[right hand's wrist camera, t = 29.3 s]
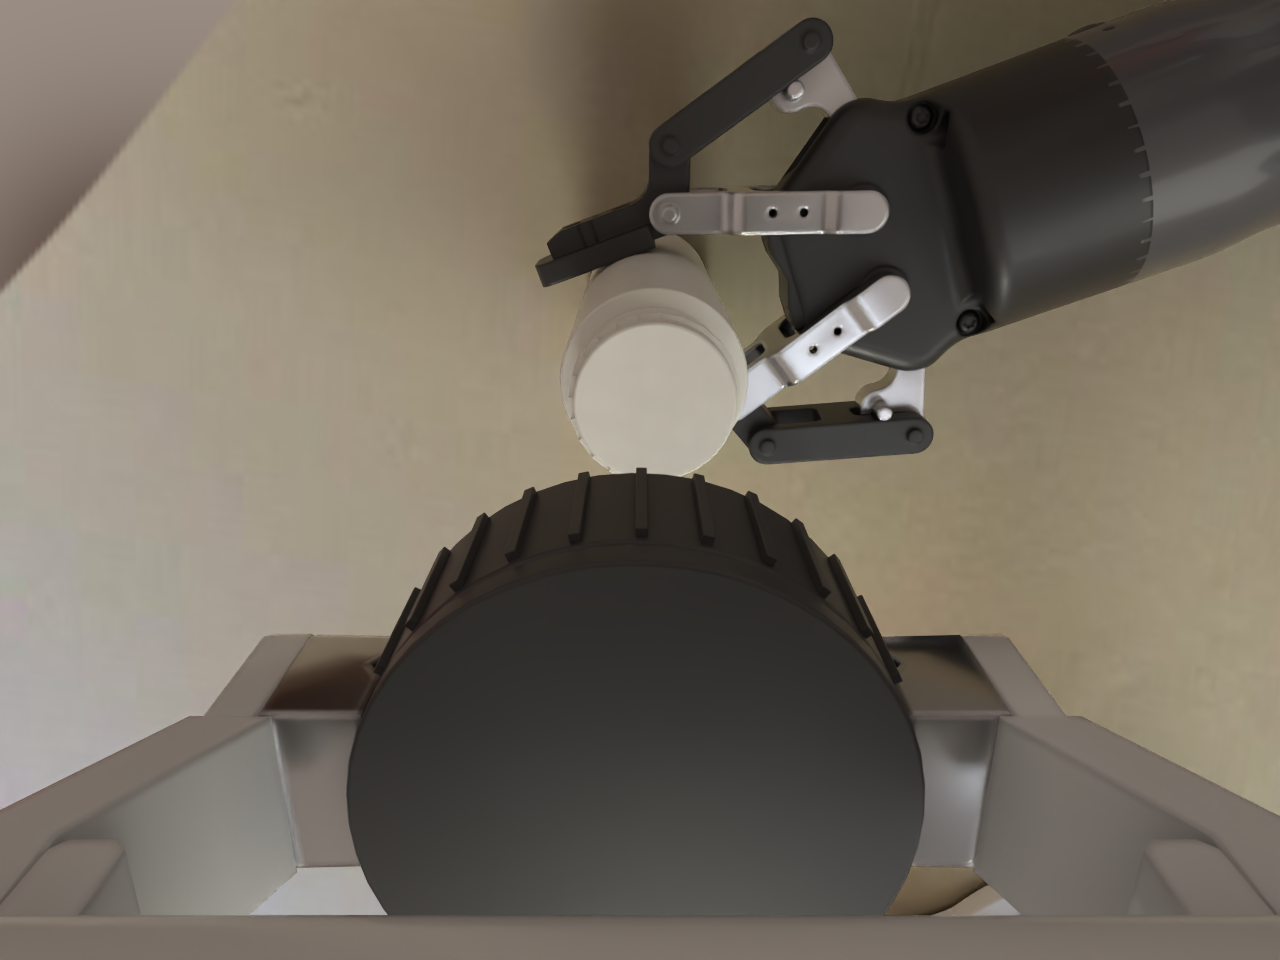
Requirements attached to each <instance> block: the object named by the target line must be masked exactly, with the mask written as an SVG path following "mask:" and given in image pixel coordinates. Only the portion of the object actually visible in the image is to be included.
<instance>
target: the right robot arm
mask: <svg viewBox="0 0 1280 960" xmlns="http://www.w3.org/2000/svg"><path fill="white" fill-rule="evenodd" d="M389 638H390V636H355V635H315V636H314V635H312V634H286V635H270V636H265V637H263V638H262V640H261V641H260V642H259V643H258V645H257V646H256V647H255V649H254V650H253V651H252V653H251V654H250V655H249V657H248V658H247V659H246V661H245V662H244V663H243V665H242V666H241V667H240V669H239V670H238V671H237V672H236V674H235V675H234V676H233V678H232V679H231V680H230V682H229V683H228V684H227V686H226V687H225V688H224V690H223V691H222V692H221V694H220V695H219V696H218V698H217V699H216V700H215V702H214V703H213V704H212V706H211V707H210V708H209V709H208V711H207V712H206V713H205V715H204V716H189V717H187V718H185V719H183V720H181V721H179V722H177V723H175V724H173V725H171V726H169V727H167V728H165V729H163V730H161V731H159V732H157V733H155V734H153V735H151V736H149V737H147V738H145V739H142V740H140V741H138V742H136V743H134V744H132V745H130V746H128V747H126V748H124V749H122V750H120V751H118V752H116V753H114V754H112V755H110V756H108V757H106V758H104V759H102V760H100V761H98V762H96V763H94V764H92V765H90V766H88V767H86V768H84V769H82V770H80V771H78V772H76V773H74V774H72V775H70V776H68V777H66V778H64V779H62V780H60V781H58V782H56V783H54V784H52V785H50V786H48V787H46V788H44V789H42V790H40V791H38V792H36V793H34V794H32V795H30V796H28V797H26V798H24V799H22V800H20V801H18V802H16V803H14V804H12V805H10V806H8V807H6V808H4V809H2V810H0V960H1280V816H1278V815H1276V814H1274V813H1272V812H1270V811H1268V810H1266V809H1264V808H1262V807H1260V806H1258V805H1256V804H1254V803H1252V802H1250V801H1248V800H1246V799H1244V798H1242V797H1240V796H1238V795H1236V794H1234V793H1232V792H1230V791H1228V790H1226V789H1224V788H1222V787H1221V786H1219V785H1217V784H1215V783H1213V782H1211V781H1209V780H1207V779H1205V778H1203V777H1201V776H1199V775H1197V774H1195V773H1193V772H1191V771H1189V770H1187V769H1185V768H1183V767H1181V766H1179V765H1177V764H1175V763H1173V762H1171V761H1169V760H1167V759H1165V758H1163V757H1161V756H1159V755H1157V754H1155V753H1153V752H1151V751H1149V750H1147V749H1145V748H1143V747H1141V746H1139V745H1137V744H1135V743H1133V742H1131V741H1129V740H1127V739H1125V738H1123V737H1121V736H1119V735H1117V734H1115V733H1113V732H1111V731H1109V730H1107V729H1105V728H1103V727H1101V726H1099V725H1097V724H1095V723H1093V722H1091V721H1089V720H1087V719H1085V718H1083V717H1081V716H1066V714H1065V713H1064V712H1063V710H1062V709H1061V708H1060V706H1059V705H1058V704H1057V702H1056V701H1055V700H1054V698H1053V697H1052V696H1051V694H1050V693H1049V692H1048V690H1047V689H1046V688H1045V686H1044V685H1043V684H1042V682H1041V681H1040V680H1039V678H1038V677H1037V676H1036V674H1035V673H1034V672H1033V670H1032V669H1031V668H1030V666H1029V665H1028V664H1027V662H1026V661H1025V659H1024V658H1023V657H1022V655H1021V654H1020V653H1019V651H1018V650H1017V649H1016V647H1015V646H1014V645H1013V643H1012V642H1011V641H1010V639H1009V638H1008V637H1006V636H1004V635H1002V634H980V635H940V636H899V637H882V638H883V640H884V642H885V644H886V646H887V648H888V650H889V652H890V655H891V657H892V659H893V661H894V663H895V665H896V667H897V669H898V671H899V673H900V675H901V678H902V680H903V681H902V682H900V683H898V684H896V685H895V687H896V689H897V691H898V693H899V695H900V698H901V700H902V702H903V704H904V706H905V708H906V710H907V713H908V715H909V717H910V719H911V721H912V724H913V727H914V731H915V734H916V737H917V741H918V744H919V747H920V751H921V754H922V762H923V770H924V778H925V808H924V819H923V824H922V829H921V834H920V839H919V844H918V848H917V851H916V854H915V857H914V859H913V862H912V865H911V866H924V867H961V868H974V872H975V873H976V874H977V875H978V876H979V877H980V878H981V879H983V880H984V881H985V882H986V883H987V884H988V885H987V886H985V887H983V888H981V889H979V890H978V891H976V892H974V893H973V894H971V895H970V896H968V897H967V898H965V899H964V900H962V901H961V902H959V903H958V904H956V905H955V906H953V907H952V908H950V909H947V910H945V911H942V912H939V913H936V914H933V915H250V914H251V913H252V912H253V911H254V910H255V909H256V908H257V907H258V906H260V905H261V904H262V903H263V902H264V901H265V900H266V899H267V898H269V897H270V896H271V895H272V894H273V893H274V892H275V891H276V890H278V889H279V888H280V887H281V886H282V885H283V884H284V883H285V882H287V881H288V880H289V879H290V878H291V877H292V876H293V875H294V874H296V873H297V869H296V868H310V867H345V866H361V865H360V863H359V860H358V858H357V856H356V852H355V848H354V844H353V840H352V836H351V832H350V828H349V823H348V811H347V798H346V786H347V774H348V762H349V757H350V754H351V750H352V746H353V742H354V738H355V734H356V730H357V728H358V725H359V723H360V721H361V718H362V716H363V714H364V711H365V709H366V707H367V705H368V702H369V700H370V698H371V696H372V694H373V692H374V689H375V687H376V685H377V683H378V682H379V679H380V676H379V675H377V674H375V673H373V670H374V668H375V666H376V664H377V662H378V660H379V658H380V656H381V654H382V652H383V650H384V648H385V646H386V644H387V642H388V640H389Z"/></svg>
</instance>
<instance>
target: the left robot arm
mask: <svg viewBox="0 0 1280 960" xmlns="http://www.w3.org/2000/svg"><path fill="white" fill-rule="evenodd" d="M832 46H833V34H832V31H831V29H830V27H829V25H828V24H827V23H826V22H825V21H823V20H821V19H819V18H807V19H805V20H803V21H801V22H800V23H798V24H797V25H795V26H794V27H792V28H791V29H789V30H788V31H787V32H785V33H784V34H783V35H781V36H780V37H778V38H777V39H776V40H774V41H773V42H772V43H770V44H769V45H768V46H766V47H765V48H764V49H762V50H761V51H760V52H758V53H757V54H756V55H754V56H753V57H752V58H750V59H749V60H748V61H746V62H745V63H744V64H742V65H741V66H740V67H738V68H737V69H736V70H734V71H733V72H732V73H730V74H729V75H728V76H726V77H725V78H724V79H722V80H721V81H719V82H718V83H717V84H715V85H714V86H713V87H711V88H710V89H709V90H707V91H706V92H705V93H703V94H702V95H701V96H699V97H698V98H697V99H695V100H694V101H693V102H691V103H690V104H689V105H687V106H686V107H685V108H683V109H682V110H681V111H679V112H678V113H677V114H675V115H674V116H673V117H671V118H670V119H669V120H667V121H666V122H665V123H663V124H662V125H660V126H659V127H658V128H657V129H655V130H654V132H653V133H652V135H651V137H650V140H649V181H648V185H647V187H646V189H645V191H644V193H643V194H642V195H641V196H640V197H639V198H637V199H636V200H634V201H632V202H629V203H626V204H624V205H621V206H618V207H616V208H613V209H610V210H608V211H605V212H602V213H599V214H597V215H594V216H592V217H589V218H586V219H583V220H581V221H578V222H575V223H573V224H570V225H567V226H565V227H563V228H562V229H561V230H560V231H559V232H558V233H556V234H555V235H554V236H553V237H552V238H551V239H550V240H549V242H548V243H547V245H548V248H549V250H550V253H551V255H549V256H547V257H544V258H542V259H541V260H539V261H538V263H537V264H536V265H535V267H536V270H537V272H538V275H539V277H540V280H541V282H542V285H543V287H548V286H551V285H554V284H557V283H560V282H563V281H565V280H568V279H571V278H574V277H576V276H579V275H582V274H584V273H587V272H590V271H593V270H595V269H598V268H601V267H604V266H606V265H609V264H612V263H615V262H617V261H620V260H622V259H624V258H627V257H630V256H634V255H636V254H639V253H642V252H645V251H647V250H650V249H653V248H655V247H656V245H655V239H658V238H661V237H663V236H666V235H695V234H730V235H761V237H762V241H763V244H764V247H765V250H766V252H767V254H768V255H769V257H770V258H771V260H772V261H773V263H774V265H775V266H776V268H777V270H778V272H779V297H780V300H781V303H782V307H783V310H784V313H785V314H784V315H783V316H782V317H780V318H779V319H778V320H777V321H775V322H774V323H773V324H771V325H770V326H769V327H767V328H766V329H765V330H764V331H763V332H761V334H760V335H759V336H758V337H757V339H756V340H755V341H754V342H753V343H752V344H751V345H749V346H748V347H747V348H745V349H744V350H743V351H744V354H745V358H746V362H747V371H748V387H747V394H746V399H745V403H744V406H743V409H742V412H741V414H740V416H739V418H738V421H737V422H736V424H735V425H734V427H733V429H732V430H733V431H734V432H735V433H736V434H737V435H738V436H739V438H740V439H741V440H742V441H743V442H744V444H745V445H746V446H747V447H748V448H749V451H750V454H751V456H752V457H753V459H754V460H755V461H757V462H759V463H761V464H780V463H793V462H807V461H820V460H833V459H847V458H860V457H873V456H887V455H900V454H913V453H919V452H922V451H924V450H925V449H926V448H927V447H928V446H929V445H930V444H931V442H932V440H933V434H934V433H933V428H932V426H931V425H930V423H929V422H928V421H927V420H926V419H925V417H924V387H925V368H926V367H928V366H930V365H931V364H933V363H934V362H935V361H936V360H937V359H938V358H939V357H940V356H941V355H942V354H943V353H944V352H945V351H947V350H948V349H949V348H950V347H951V346H953V345H954V344H956V343H957V342H959V341H961V340H963V339H965V338H967V337H970V336H974V335H977V334H980V333H984V332H987V331H991V330H994V329H996V328H999V327H1002V326H1005V325H1008V324H1011V323H1014V322H1017V321H1020V320H1023V319H1026V318H1028V317H1031V316H1034V315H1037V314H1040V313H1043V312H1046V311H1049V310H1052V309H1055V308H1058V307H1061V306H1064V305H1067V304H1070V303H1073V302H1075V301H1078V300H1081V299H1084V298H1088V297H1091V296H1094V295H1096V294H1099V293H1102V292H1105V291H1108V290H1111V289H1114V288H1117V287H1120V286H1123V285H1126V284H1129V283H1132V282H1135V281H1138V280H1141V279H1143V278H1146V277H1149V276H1152V275H1155V274H1158V273H1161V272H1164V271H1167V270H1170V269H1173V268H1176V267H1179V266H1182V265H1185V264H1188V263H1190V262H1193V261H1196V260H1199V259H1202V258H1204V257H1207V256H1209V255H1212V254H1214V253H1217V252H1219V251H1221V250H1223V249H1225V248H1228V247H1230V246H1232V245H1234V244H1236V243H1238V242H1240V241H1242V240H1244V239H1246V238H1248V237H1250V236H1252V235H1254V234H1256V233H1258V232H1260V231H1262V230H1265V229H1267V228H1269V227H1272V226H1274V225H1277V224H1280V0H1174V1H1170V2H1166V3H1162V4H1158V5H1154V6H1151V7H1148V8H1145V9H1142V10H1139V11H1136V12H1133V13H1131V14H1128V15H1126V16H1123V17H1120V18H1118V19H1115V20H1112V21H1109V22H1107V23H1105V22H1104V23H1099V24H1092V25H1089V26H1086V27H1083V28H1081V29H1079V30H1077V31H1075V32H1073V33H1072V34H1070V35H1069V36H1068V37H1067V38H1064V39H1062V40H1059V41H1056V42H1054V43H1051V44H1048V45H1046V46H1043V47H1040V48H1038V49H1035V50H1032V51H1030V52H1027V53H1024V54H1022V55H1019V56H1017V57H1014V58H1011V59H1009V60H1006V61H1003V62H1000V63H998V64H995V65H992V66H990V67H987V68H984V69H982V70H979V71H976V72H974V73H971V74H968V75H966V76H963V77H960V78H958V79H955V80H952V81H950V82H947V83H944V84H942V85H939V86H936V87H933V88H931V89H928V90H925V91H923V92H920V93H917V94H915V95H912V96H909V97H906V98H903V99H900V100H897V101H882V100H877V99H872V98H860V99H857V97H856V96H855V94H854V92H853V90H852V89H851V87H850V85H849V83H848V82H847V80H846V78H845V76H844V74H843V73H842V71H841V69H840V67H839V66H838V64H837V62H836V60H835V59H834V57H833V55H832V53H831V49H832ZM767 101H768V102H769V103H770V105H771V106H772V107H773V108H774V109H775V110H776V111H778V112H780V113H786V114H787V113H795V112H798V111H800V110H802V109H804V108H807V107H810V108H814V109H816V110H818V111H819V112H821V113H822V115H823V116H824V119H823V120H822V122H821V123H820V125H819V126H818V127H817V129H816V130H815V132H814V133H813V135H812V136H811V137H810V139H809V140H808V142H807V143H806V145H805V146H804V147H803V149H802V150H801V152H800V153H799V155H798V156H797V157H796V159H795V160H794V162H793V163H792V165H791V166H790V167H789V169H788V170H787V172H786V173H785V175H784V176H783V177H782V179H781V180H780V182H779V183H778V185H753V186H724V187H702V188H689V186H690V158H691V157H692V156H694V155H695V154H696V153H698V152H699V151H700V150H702V149H703V148H705V147H706V146H707V145H709V144H710V143H711V142H713V141H714V140H715V139H717V138H718V137H720V136H721V135H722V134H724V133H725V132H726V131H728V130H729V129H731V128H732V127H733V126H735V125H736V124H737V123H739V122H740V121H741V120H743V119H744V118H746V117H747V116H748V115H750V114H751V113H752V112H754V111H755V110H757V109H758V108H759V107H761V106H762V105H763V104H765V103H766V102H767ZM794 330H796V331H794ZM811 346H815V347H814V349H812V350H809V349H810V347H811ZM840 353H842V354H846V355H849V356H853V357H856V358H860V359H863V360H866V361H870V362H873V363H877V364H880V365H884V366H887V367H889V370H888V372H887V374H886V375H885V377H884V378H882V379H881V380H880V381H878V382H875V383H871V384H868V385H865V386H864V387H862V388H861V389H860V390H859V392H858V393H857V395H856V398H855V401H848V402H835V403H822V404H809V405H796V406H783V407H770V408H767V407H766V406H765V405H764V404H763V403H765V402H766V401H767V400H769V399H770V398H772V397H773V396H774V395H776V394H777V393H778V392H780V391H781V390H782V389H784V388H786V387H788V386H793V385H796V384H798V383H800V382H801V381H803V380H804V379H806V378H807V377H808V376H810V375H811V374H812V373H814V372H815V371H816V370H818V369H819V368H821V367H822V366H823V365H825V364H826V363H827V362H829V361H830V360H831V359H833V358H834V357H836V356H837V355H838V354H840Z"/></svg>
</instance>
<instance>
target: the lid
mask: <svg viewBox="0 0 1280 960" xmlns="http://www.w3.org/2000/svg"><path fill="white" fill-rule="evenodd" d="M373 673H375V674H377V675H379V676H380V679H379V682H378V683H377V685H376V687H375V689H374V692H373V694H372V696H371V698H370V700H369V702H368V705H367V707H366V709H365V711H364V714H363V716H362V718H361V721H360V723H359V725H358V728H357V730H356V734H355V738H354V742H353V746H352V750H351V754H350V757H349V762H348V774H347V786H346V798H347V811H348V823H349V828H350V832H351V836H352V840H353V844H354V848H355V852H356V856H357V858H358V860H359V863H360V865H361V868H362V870H363V873H364V875H365V877H366V880H367V882H368V884H369V886H370V887H371V889H372V891H373V892H374V894H375V896H376V897H377V899H378V901H379V902H380V904H381V906H382V907H383V909H384V910H385V912H386V913H387V914H388V915H884V914H885V912H886V911H887V910H888V908H889V907H890V906H891V904H892V903H893V901H894V900H895V898H896V896H897V894H898V892H899V890H900V889H901V887H902V885H903V883H904V881H905V879H906V877H907V876H908V873H909V870H910V867H911V865H912V862H913V859H914V857H915V854H916V851H917V848H918V844H919V839H920V834H921V829H922V824H923V819H924V808H925V778H924V770H923V762H922V754H921V751H920V747H919V744H918V741H917V737H916V734H915V731H914V727H913V724H912V721H911V719H910V717H909V715H908V713H907V710H906V708H905V706H904V704H903V702H902V700H901V698H900V695H899V693H898V691H897V689H896V687H895V685H896V684H898V683H900V682H902V681H903V680H902V678H901V675H900V673H899V671H898V669H897V667H896V665H895V663H894V661H893V659H892V657H891V655H890V652H889V650H888V648H887V646H886V644H885V642H884V640H883V638H882V636H881V634H880V632H879V630H878V627H877V625H876V623H875V621H874V619H873V617H872V615H871V613H870V611H869V609H868V607H867V605H866V602H865V600H864V598H863V596H862V595H860V596H858V597H857V596H856V594H855V592H854V589H853V587H852V585H851V583H850V581H849V579H848V577H847V574H846V572H845V570H844V568H843V566H842V564H841V562H840V560H839V558H838V557H837V556H836V555H835V554H833V555H831V556H830V557H829V558H828V557H827V555H826V554H825V553H824V552H823V551H822V550H821V549H820V548H819V547H818V546H817V545H816V544H815V542H814V541H813V540H812V539H811V538H809V536H808V534H807V532H806V529H805V527H804V524H803V523H802V522H801V521H799V520H798V519H795V520H794V521H793V522H792V523H791V522H790V521H789V520H787V519H786V518H784V517H783V516H781V515H779V514H778V513H776V512H774V511H773V510H771V509H770V508H768V507H766V506H765V505H763V504H761V503H760V502H759V499H758V496H757V494H754V493H752V492H750V491H748V492H747V494H746V495H745V496H744V495H742V494H739V493H737V492H735V491H733V490H730V489H727V488H724V487H720V486H717V485H714V484H710V483H707V482H705V479H704V476H703V475H699V474H694V475H693V479H690V478H684V477H678V476H672V475H666V474H647V468H638V467H637V468H636V473H623V474H610V475H598V476H593V477H590V474H589V472H583V473H579V475H578V480H573V481H568V482H564V483H561V484H558V485H555V486H552V487H549V488H546V489H543V490H541V491H538V492H536V490H535V488H534V487H532V488H529V489H527V490H525V491H524V494H523V497H522V499H520V500H518V501H516V502H514V503H512V504H510V505H508V506H506V507H504V508H503V509H501V510H499V511H498V512H496V513H495V514H493V515H492V516H490V517H488V516H487V515H486V513H483V514H482V515H480V516H479V517H477V519H476V522H475V524H474V526H473V529H472V531H471V532H469V533H468V534H467V535H466V536H465V537H464V538H463V539H461V540H460V541H459V542H458V543H457V544H456V545H455V546H454V547H453V548H452V550H451V551H450V550H448V549H447V548H446V547H444V548H443V549H442V550H441V551H440V552H439V554H438V556H437V558H436V560H435V562H434V564H433V566H432V568H431V570H430V572H429V574H428V577H427V579H426V581H425V583H424V585H423V587H422V589H421V590H420V589H418V588H416V587H415V588H414V590H413V592H412V594H411V596H410V598H409V600H408V602H407V604H406V606H405V608H404V610H403V612H402V614H401V616H400V618H399V620H398V622H397V624H396V626H395V628H394V630H393V632H392V634H391V636H390V638H389V640H388V642H387V644H386V646H385V648H384V650H383V652H382V654H381V656H380V658H379V660H378V662H377V664H376V666H375V668H374V670H373Z"/></svg>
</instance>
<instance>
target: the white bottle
mask: <svg viewBox="0 0 1280 960" xmlns="http://www.w3.org/2000/svg"><path fill="white" fill-rule="evenodd" d="M655 245H656V247H655V248H653V249H650V250H647V251H645V252H642V253H639V254H636V255H634V256H630V257H627V258H624V259H622V260H620V261H617V262H615V263H612V264H609V265H606V266H604V267H601V268H598V269H595V270H593V271H592V273H591V276H590V279H589V282H588V285H587V288H586V291H585V294H584V297H583V300H582V302H581V305H580V308H579V311H578V314H577V317H576V320H575V323H574V326H573V329H572V331H571V334H570V337H569V340H568V343H567V346H566V349H565V352H564V355H563V359H562V364H561V372H560V387H561V394H562V400H563V404H564V407H565V410H566V413H567V415H568V417H569V419H570V421H571V423H572V425H573V426H574V429H575V431H576V434H577V436H578V438H579V441H580V442H581V444H582V445H583V446H584V448H585V449H586V450H587V451H588V453H589V454H590V455H591V457H592V458H593V459H594V460H595V461H597V462H598V463H599V464H601V465H602V466H603V467H605V468H606V469H607V470H609V472H611V473H614V474H623V473H636V468H637V467H638V468H647V474H666V475H672V476H678V477H680V476H683V475H685V474H688V473H690V472H692V471H694V470H696V469H698V468H699V467H701V466H702V465H704V464H705V463H707V462H708V461H709V460H710V459H711V458H712V457H713V456H714V455H716V454H717V452H718V451H719V450H720V449H721V447H722V446H723V445H724V443H725V441H726V440H727V438H728V437H729V434H730V432H731V430H732V429H733V427H734V425H735V424H736V422H737V421H738V418H739V416H740V414H741V412H742V409H743V406H744V403H745V399H746V394H747V387H748V371H747V362H746V358H745V354H744V351H743V348H742V346H741V343H740V341H739V338H738V336H737V334H736V332H735V330H734V328H733V326H732V324H731V321H730V319H729V317H728V315H727V313H726V311H725V309H724V307H723V304H722V302H721V300H720V298H719V296H718V294H717V292H716V290H715V288H714V285H713V283H712V281H711V279H710V277H709V275H708V273H707V271H706V268H705V266H704V264H703V262H702V260H701V259H700V257H699V255H698V254H697V252H696V251H695V250H694V248H693V247H692V246H691V245H690V244H689V243H688V242H686V241H685V240H684V239H682V238H681V237H679V236H677V235H666V236H663V237H661V238H658V239H655Z"/></svg>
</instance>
